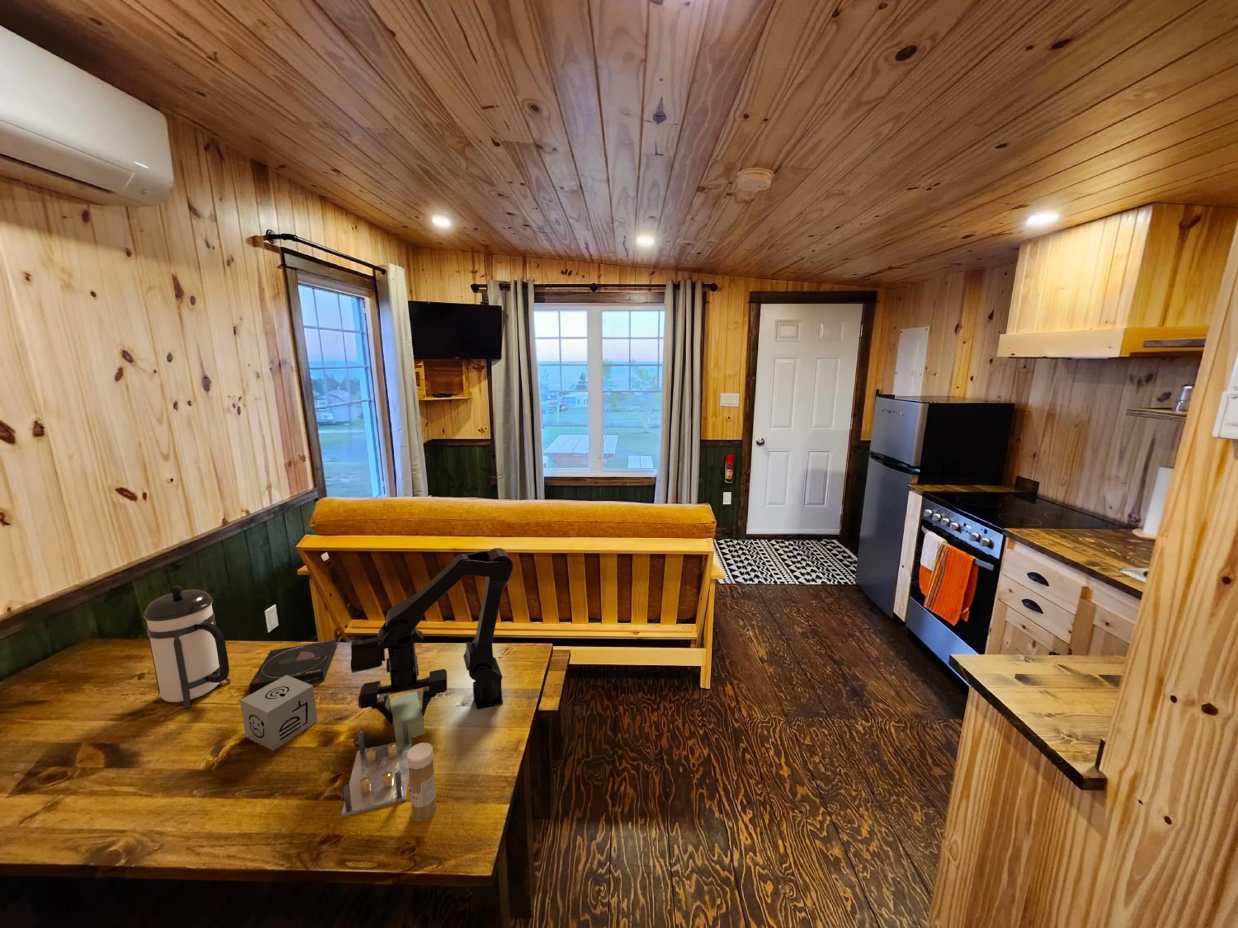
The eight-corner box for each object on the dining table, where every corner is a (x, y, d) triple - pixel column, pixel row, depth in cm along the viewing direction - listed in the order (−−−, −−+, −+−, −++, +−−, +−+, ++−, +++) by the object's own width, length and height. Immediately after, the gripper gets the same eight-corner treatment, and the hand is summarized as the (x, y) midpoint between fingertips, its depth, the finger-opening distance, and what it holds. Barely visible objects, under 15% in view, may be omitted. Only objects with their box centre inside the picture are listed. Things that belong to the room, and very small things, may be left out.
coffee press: (141, 724, 111) (118, 607, 106) (167, 685, 125) (148, 580, 120) (233, 701, 119) (216, 591, 114) (247, 668, 133) (233, 568, 128)
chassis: (357, 754, 103) (355, 730, 102) (412, 742, 106) (410, 719, 105) (341, 818, 88) (338, 790, 87) (405, 801, 91) (403, 774, 90)
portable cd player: (337, 650, 143) (336, 638, 142) (324, 684, 127) (322, 671, 126) (273, 661, 137) (271, 649, 136) (251, 698, 121) (249, 684, 120)
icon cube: (317, 723, 112) (313, 685, 110) (273, 752, 103) (267, 712, 101) (291, 711, 116) (286, 674, 114) (246, 738, 107) (240, 699, 105)
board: (391, 713, 116) (390, 698, 115) (417, 704, 119) (416, 690, 118) (396, 745, 106) (395, 729, 105) (425, 735, 109) (423, 720, 108)
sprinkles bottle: (407, 813, 89) (401, 751, 87) (429, 797, 92) (425, 737, 90) (418, 828, 86) (413, 764, 84) (441, 811, 89) (437, 749, 87)
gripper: (445, 635, 120) (449, 690, 123) (363, 648, 114) (369, 706, 116) (445, 659, 110) (448, 718, 112) (355, 675, 103) (361, 737, 106)
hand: (407, 719), depth 112 cm, fingers closed on board, 6 cm apart
